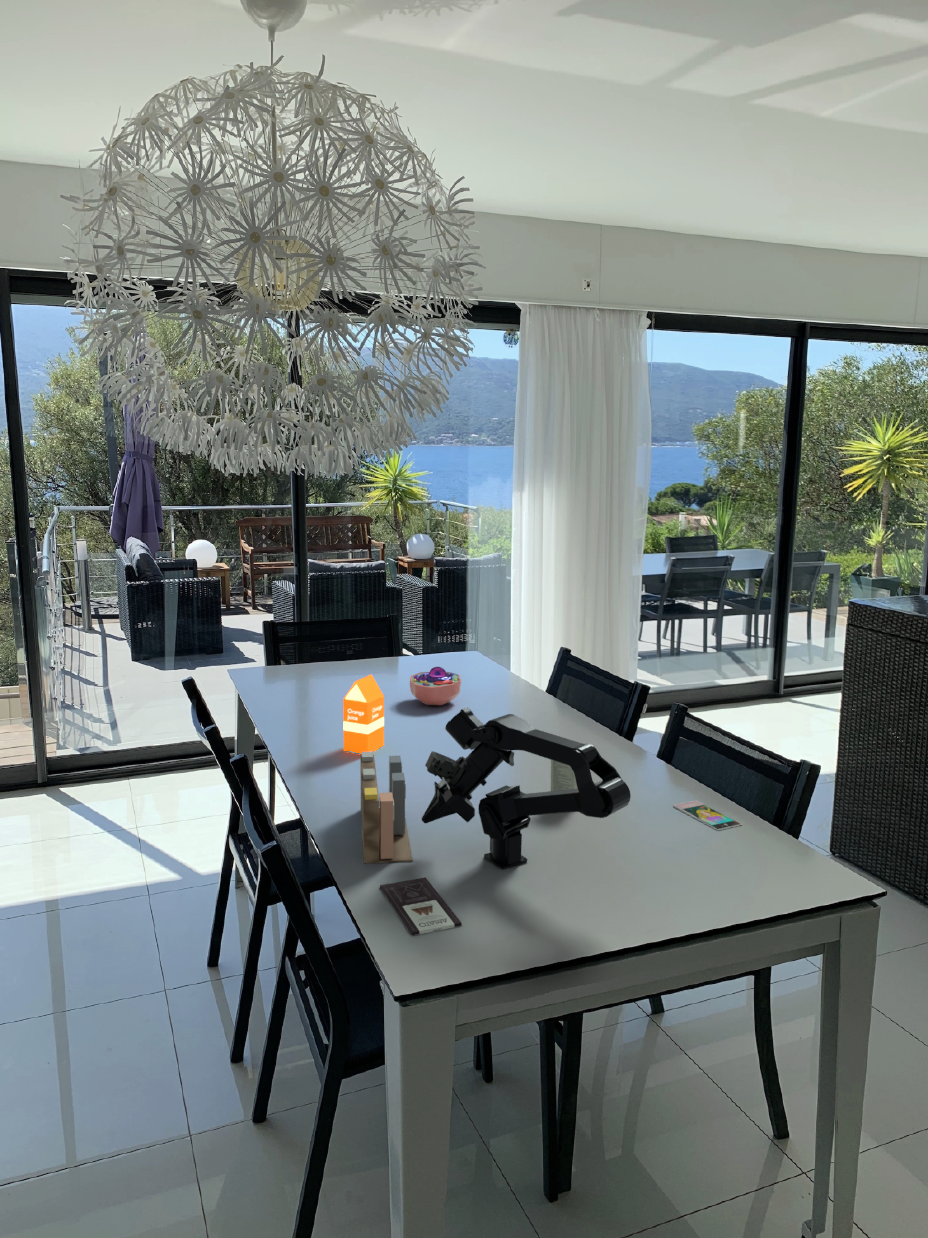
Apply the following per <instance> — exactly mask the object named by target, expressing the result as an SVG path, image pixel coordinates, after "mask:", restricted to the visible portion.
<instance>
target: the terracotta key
mask: <svg viewBox="0 0 928 1238" xmlns="http://www.w3.org/2000/svg"><path fill="white" fill-rule="evenodd" d="M379 808H380V857H381V859H391V858H393V820H394V800H393V795H392V792H391V793H389V792H379Z"/></svg>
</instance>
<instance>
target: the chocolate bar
mask: <svg viewBox="0 0 928 1238" xmlns="http://www.w3.org/2000/svg"><path fill="white" fill-rule="evenodd" d="M379 888H380V890H381V891H382V893H383V894H384V896H385V897H386V899H387V901H389V904H390V905H391V907H392V908H393V910H394V911H395V912H396V914H397V916H398V917H399V918H400V920H401V922H402V923H403V924H404V926H405V927H406V929H407V930H408V932H409V934H410V935H411V934H412V935H413V936H416V935H415V934H418V935H422V934H426V933H432V932H438V931H442V930H448V929H451V928H452V929H453V928H457V927H462V921H461V920H460V919H459V917H458V916H457V915H456V913H454V911H453V910H452V909H451V908H450V906H449V905H448V904H447V902H446V900H445V899H444V898H443V897H442V896H441V895H440V893H439V892H438V891H437V890H436V888H435V887H434V886H433V885H432V884H431V882H430V881H429V880H428V878H427V877H426V876H424V877H419V878H414V879H407V880H403V881H398V882H396V881H395V882H392V883H386V884H380V885H379ZM412 935H411V936H412Z"/></svg>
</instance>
